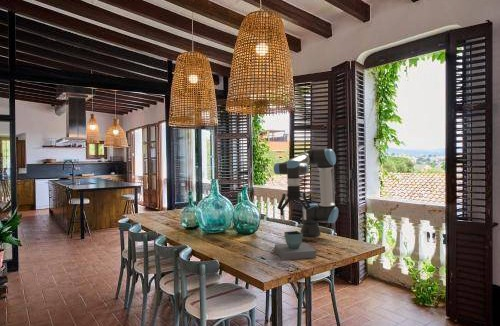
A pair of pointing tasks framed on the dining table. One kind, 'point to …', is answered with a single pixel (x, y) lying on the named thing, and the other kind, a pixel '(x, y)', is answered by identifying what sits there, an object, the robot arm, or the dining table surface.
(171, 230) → the dining table surface
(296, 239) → the flower pot
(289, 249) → the plinth
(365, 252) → the dining table surface
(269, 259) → the dining table surface
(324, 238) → the dining table surface
